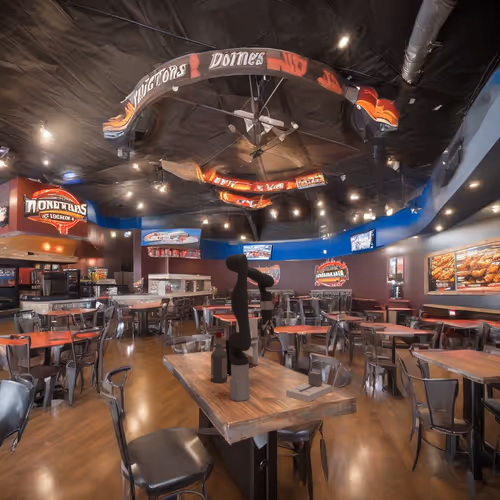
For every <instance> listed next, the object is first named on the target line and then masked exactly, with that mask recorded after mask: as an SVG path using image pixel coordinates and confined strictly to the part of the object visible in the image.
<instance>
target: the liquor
mask: <svg viewBox="0 0 500 500" xmlns="http://www.w3.org/2000/svg"><path fill="white" fill-rule="evenodd" d="M222 335H223V332H222V331H216V332H215V337H216V338H215V339H216V342H215V343H216V344H215V349H214V350H213V351H212V353H211V354H210V381H211V383H212V382H213V384H223V383H224V382H225V383H226V382H227V380H228V375H227V353H226V349H224V347H223V346H222ZM225 383H224V384H225Z"/></svg>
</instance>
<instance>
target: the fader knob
mask: <svg viewBox="0 0 500 500" xmlns="http://www.w3.org/2000/svg"><path fill="white" fill-rule="evenodd" d="M307 375H308V377H307V379H308V382H309V384H310V385H315V386H320V385H322V384H323V379H322V378H323V375H322V372H317V371H309V372H308V373H307Z"/></svg>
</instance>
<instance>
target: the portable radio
mask: <svg viewBox="0 0 500 500" xmlns="http://www.w3.org/2000/svg"><path fill="white" fill-rule="evenodd" d="M229 338H230V336H228V339H226V340H225V351H226V353H227V374H229V375H228V376H231V360H230V355H229Z"/></svg>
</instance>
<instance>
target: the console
mask: <svg viewBox="0 0 500 500" xmlns="http://www.w3.org/2000/svg"><path fill="white" fill-rule="evenodd" d="M332 392H333V389H332V385H331V384H325V383H322V385H320V386H315V385H310V384H309V381H306V382H304V383H301V384H299V385H296V386H292V387H290V388H288V389H286V391H285V394H286V397H288V398H293V399H295V400H299V401H302V402H303V401H304V402H305V403H310V402H313V401H315V400H316V399H319V398H321V397H323V396H325V395H328V394H330V393H332ZM312 400H313V401H312Z"/></svg>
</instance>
